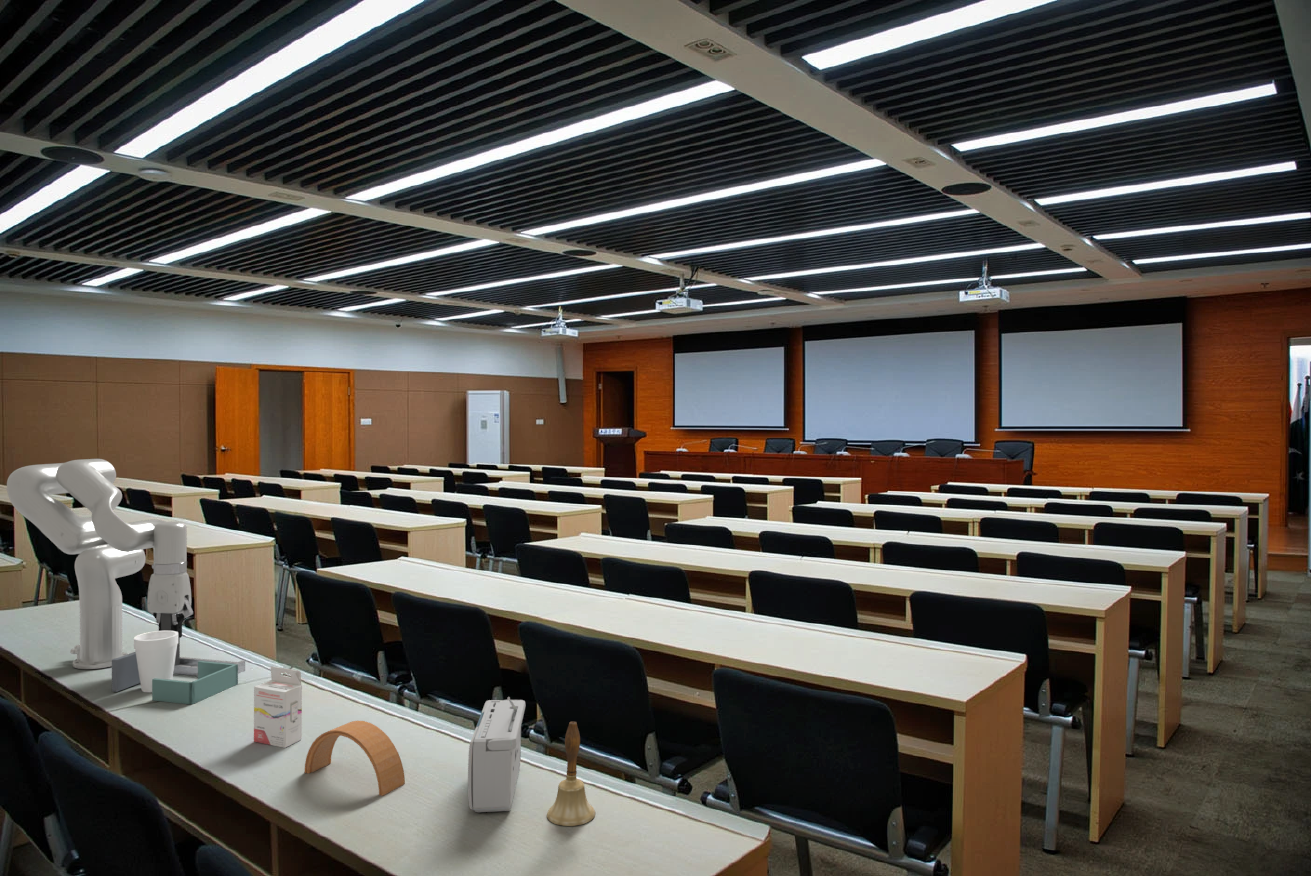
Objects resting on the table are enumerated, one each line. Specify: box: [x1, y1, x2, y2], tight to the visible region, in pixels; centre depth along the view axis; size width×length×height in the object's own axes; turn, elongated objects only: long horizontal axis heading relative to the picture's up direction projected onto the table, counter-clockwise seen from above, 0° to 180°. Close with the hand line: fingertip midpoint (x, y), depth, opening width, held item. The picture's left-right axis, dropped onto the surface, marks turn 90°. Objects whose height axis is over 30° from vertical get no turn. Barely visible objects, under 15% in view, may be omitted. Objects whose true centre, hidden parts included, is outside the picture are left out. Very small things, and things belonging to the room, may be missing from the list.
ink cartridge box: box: [253, 666, 303, 749], centre depth 171 cm, size 9×5×15 cm, turn 71°
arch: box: [304, 720, 406, 797], centre depth 155 cm, size 6×20×10 cm, turn 63°
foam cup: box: [133, 630, 178, 693], centre depth 203 cm, size 10×9×13 cm
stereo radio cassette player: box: [467, 696, 526, 814], centre depth 151 cm, size 21×8×20 cm, turn 4°
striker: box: [111, 613, 181, 692], centre depth 210 cm, size 5×21×17 cm, turn 167°
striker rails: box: [173, 656, 246, 677], centre depth 217 cm, size 28×7×2 cm, turn 77°
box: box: [151, 661, 239, 705], centre depth 200 cm, size 11×15×5 cm
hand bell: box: [546, 721, 596, 827], centre depth 142 cm, size 8×8×16 cm
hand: (170, 637), depth 218 cm, fingers closed on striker, 3 cm apart
